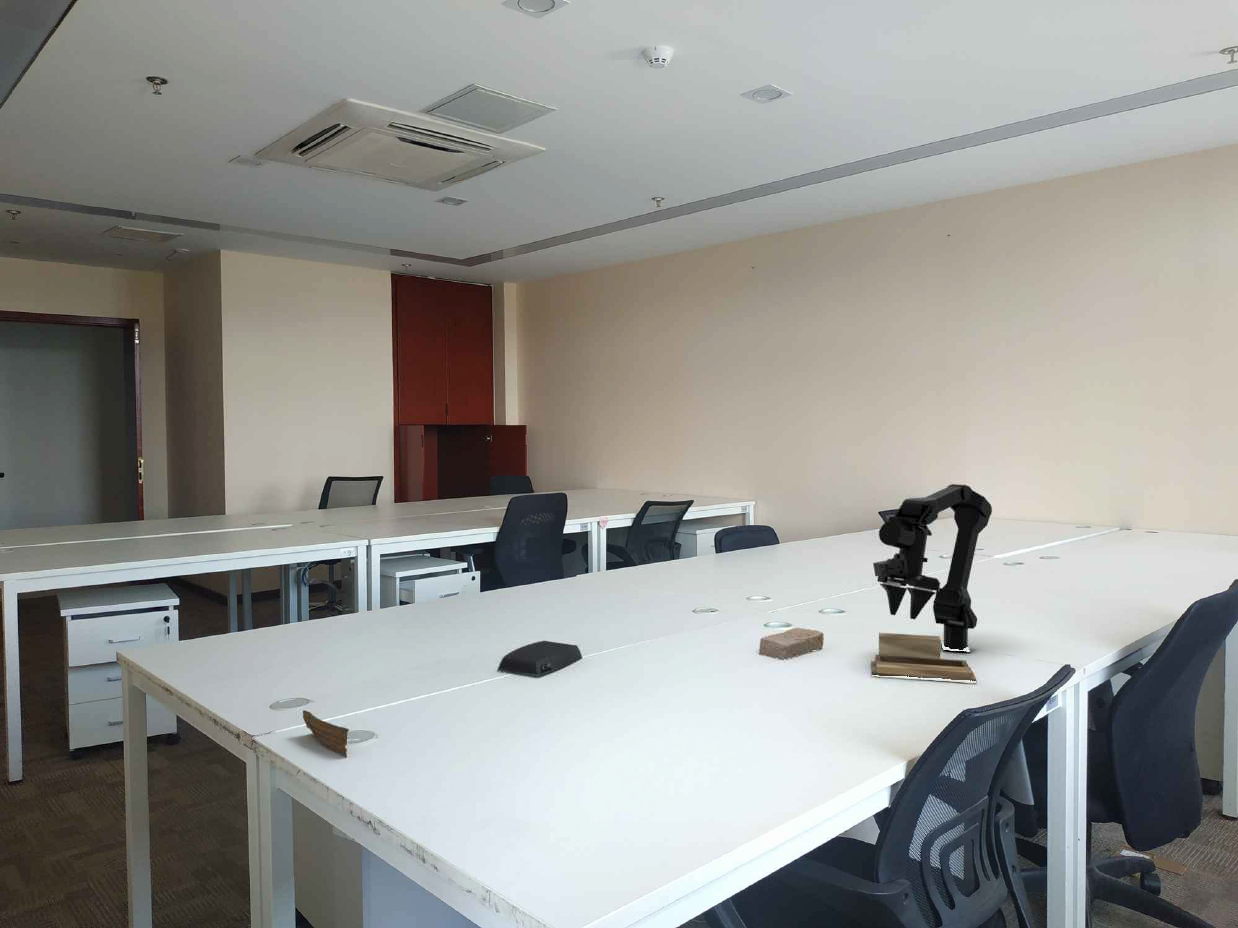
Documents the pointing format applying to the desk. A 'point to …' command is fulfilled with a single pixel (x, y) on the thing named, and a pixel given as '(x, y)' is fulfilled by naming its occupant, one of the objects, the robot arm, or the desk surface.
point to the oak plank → (909, 645)
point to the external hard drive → (539, 659)
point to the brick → (791, 643)
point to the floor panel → (918, 661)
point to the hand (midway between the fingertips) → (902, 616)
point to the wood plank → (327, 733)
